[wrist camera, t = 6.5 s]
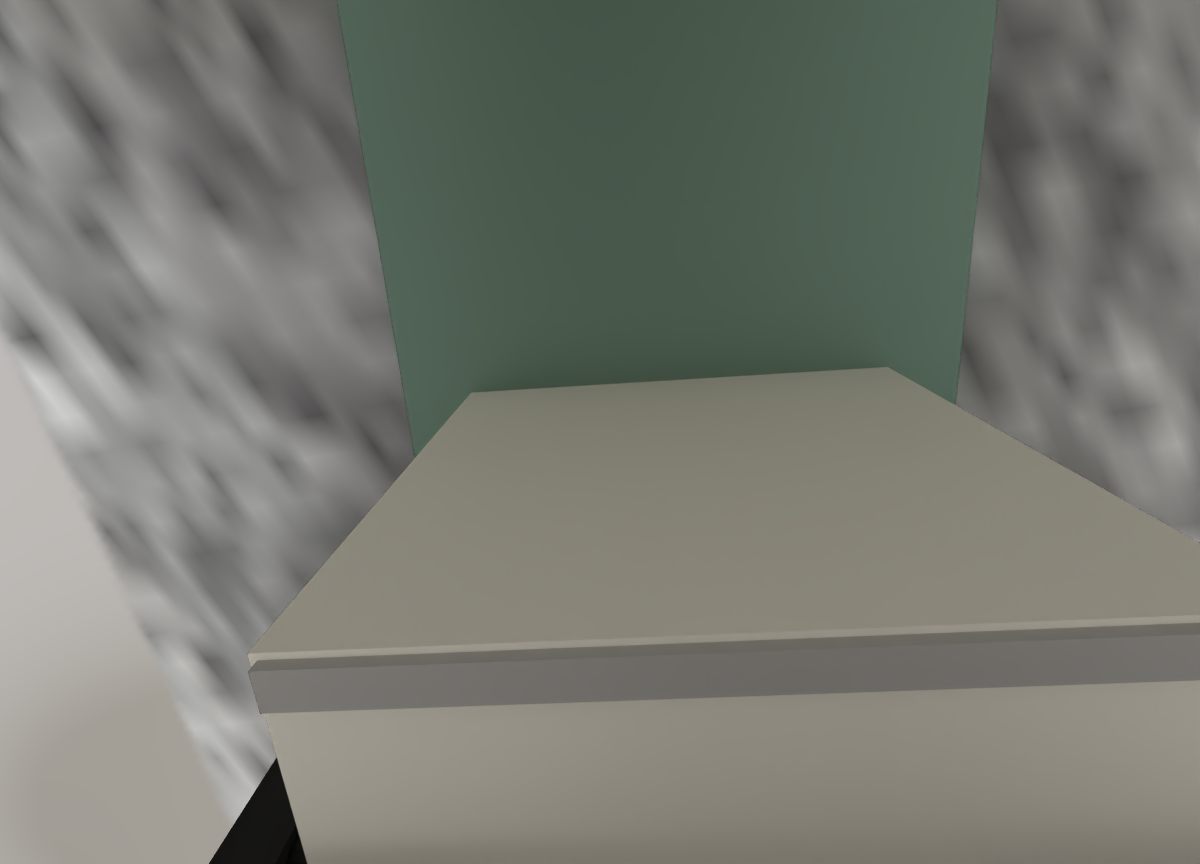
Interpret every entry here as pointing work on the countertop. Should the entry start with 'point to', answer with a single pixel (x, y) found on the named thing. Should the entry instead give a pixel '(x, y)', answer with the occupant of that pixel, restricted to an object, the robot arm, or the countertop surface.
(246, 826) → the robot arm
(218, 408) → the countertop surface
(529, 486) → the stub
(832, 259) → the mat
